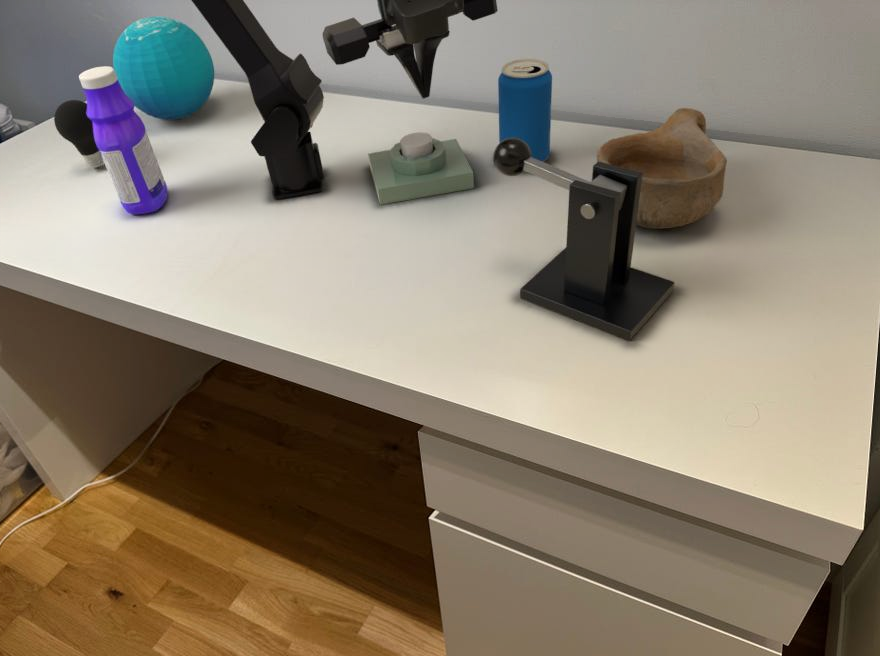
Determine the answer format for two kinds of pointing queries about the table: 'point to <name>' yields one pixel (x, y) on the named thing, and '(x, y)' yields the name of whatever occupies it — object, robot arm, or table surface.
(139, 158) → the bottle
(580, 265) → the lever bracket
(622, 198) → the ball knob lever
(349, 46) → the robot arm
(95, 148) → the light bulb
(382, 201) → the button block
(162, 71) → the decorative orb
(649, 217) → the bowl
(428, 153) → the flush button
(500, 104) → the beverage can
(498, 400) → the table surface
